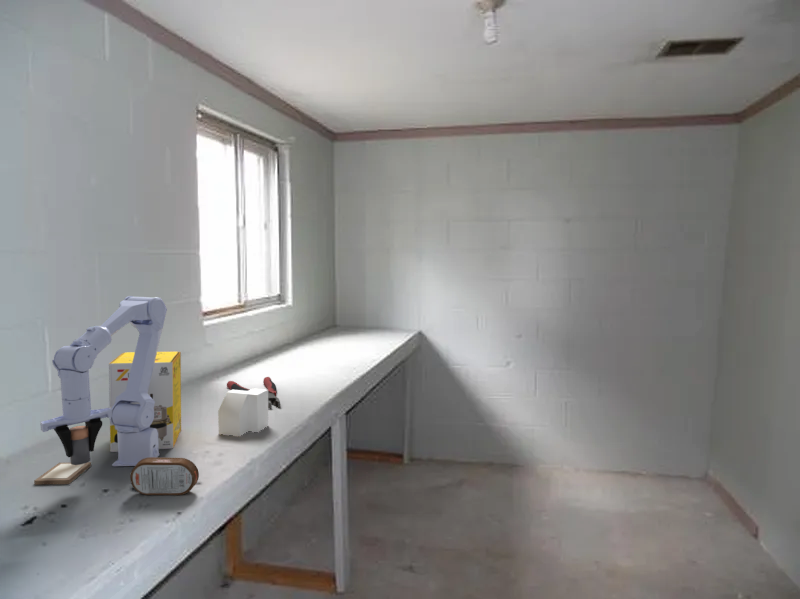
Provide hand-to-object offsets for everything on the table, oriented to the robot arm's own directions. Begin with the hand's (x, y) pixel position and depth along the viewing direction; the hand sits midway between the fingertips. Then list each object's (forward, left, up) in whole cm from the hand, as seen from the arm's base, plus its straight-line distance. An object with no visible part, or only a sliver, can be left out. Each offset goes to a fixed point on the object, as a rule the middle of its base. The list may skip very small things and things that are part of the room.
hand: (80, 453), depth 130 cm
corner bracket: (-29, -40, -9) cm, 51 cm away
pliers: (-25, -80, -9) cm, 84 cm away
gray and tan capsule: (0, 0, -2) cm, 2 cm away
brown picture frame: (+8, -8, -9) cm, 14 cm away
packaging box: (-3, -32, -9) cm, 33 cm away
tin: (-20, +4, -9) cm, 23 cm away
